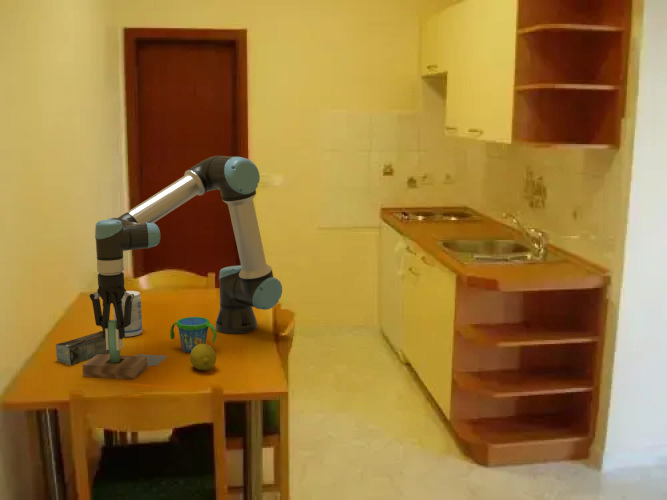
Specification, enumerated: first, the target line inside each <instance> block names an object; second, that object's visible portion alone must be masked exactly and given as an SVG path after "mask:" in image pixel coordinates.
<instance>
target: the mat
mask: <svg viewBox="0 0 667 500" xmlns="http://www.w3.org/2000/svg"><path fill="white" fill-rule="evenodd" d="M136 356H140V357H147V367H157V366H159V364H161V363H162V362H163V361H164V360H165V359H166V358H167V357H168V355H161V354H160V355H157V354H141V353H137V354H136Z"/></svg>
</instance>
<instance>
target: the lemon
mask: <svg viewBox="0 0 667 500" xmlns="http://www.w3.org/2000/svg"><path fill="white" fill-rule="evenodd" d="M189 354H190V356H189V357H190V359H189V360H190V363H191V365H192V366H193V367H194V368H195V369H196V370H199V371H203V372H207V371H210V370H212V369H213V368H214V366H215V364H216V361H217V354H216V351H215V350H214V348H213V347H212V346H211V345H209V344H207V343H206V344H199V345H197V346H195V347H194V348H193V349H192V351H191V353H189Z"/></svg>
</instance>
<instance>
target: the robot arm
mask: <svg viewBox="0 0 667 500" xmlns="http://www.w3.org/2000/svg"><path fill="white" fill-rule="evenodd" d="M260 177H261V176H260V171H259V169H258V167H257V165H256V164H255V163H254V162H253V161H252V160H250V159H249V158H245V157H242V156H229V155H228V156H227V155H220V154H219V155H214V156H211V157H208V158H205V159H204V160H201V161H200V162H198V163H196V164H195V165H193V166H192V167H190V168H189V169H187V170H185V172H184V175H183V176H182V177H180V178H178V179H176V181H174V182H172V183H171V184H169V185H168V186H166V187H164V188H163V189H161V190H160V191H158V192H157V193H155V194H154V195H151V196H150V197H149V198H147V199H146V200H144V201H143V202H141V203H139V204H137V205H136V206H135V207H133V208H131V209H129V210H128V211H127V212H125V213H124V214H122V215H120V216H119V217H109V218H107V219H102V220H98V221H97V222H96V223H95V228H94V229H95V231H94V233H95V234H94V238H95V247H96V248H95V250H96V269H97V273H98V274H97V286H98V288H97V291H95V292H92V293H90V294H89V299H90V300H91V302H92V308H93V314H94V320H95V325H96V326H97V327H101V328H102V331H103V338H106V350H109V333H108V321H109V320H110V315H111V306H113V307H114V308H115V314H116V320H117V326H118V328H117V329H115V331H116V350H121V349H123V348H124V347H123V339H124V338H126V337H125V329H124V328H125V327H127V326H129V325H130V324H131V310H132V301H133V298H134V294H129V293H127V292H126V291H127V290H126V288H125V273H124V269H125V266H124V265H125V264H124V252H126V251H133V250H141V249H151V248H153V247H156V246H158V245H159V244H160V242H161V231H160V228H159V226H158V225H157V224H156V222H158V221H159V220H160V219H162V218H163V217H165V216H167V215H168V214H169V213H171V212H173V211H175V210H176V209H178V208H179V207H180V206H182V205H184V204H185V203H187V202H188V201H190V200H191V199H193V198H194V197H196V196H203V195H204V194H206V193H207V192H212V191H216V190H218V191H220V196H221V201H222V202H224V203H225V204H227V207H228V210H229V211H228V212H229V215H230V220H231V226H232V230H233V234H234V239H235V243H236V247H237V248H236V249H237V253H238V258H239V261H240V265H230V266H225V267H223V268H221V269H220V270H219V275H218V281H219V309H218V313H217V317H216V321H215V330H216V332H218V333H219V332H220V333H223V334H232V335H237V334H245V333H246V332H247V333H250V331H251V332H253V330H254V331H255V330H257V329H258V321H257V318H256V314H255V312H254V309H253V308H255V309H257V310H265V311H266V310H270V309H273V308H274V307H275V306H276V305H277V304H278V303H279V301H280V299H281V297H282V294H283V286H282V283H281V281H280V280H279V279H278V278H276V277H274V274H273V268H272V266H270V265H269V264H267V260H266V256H265V252H264V245H263V242H262V236H261V231H260V227H259V226H260V225H259V223H258V222H259V221H258V217H257V212H256V208H255V204H254V202H255V201H254V198H255V196H256V195H257V191H256V190H257V188H258V186H259V185H258V184H259V183H260V179H261V178H260ZM123 297H125V300H126V301H125V308H124V316H123V310H122V298H123ZM100 298H101V299H100ZM101 300H102V305H101Z"/></svg>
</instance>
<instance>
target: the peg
mask: <svg viewBox="0 0 667 500" xmlns="http://www.w3.org/2000/svg"><path fill="white" fill-rule="evenodd" d="M117 328H118V326H117V320H114V319H109V321H108V333H109V353H108V354H109V355H110V363H117V364H118V363H120V355H121V351H120V350H121V349H120V350H116V331H115V329H117Z"/></svg>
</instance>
